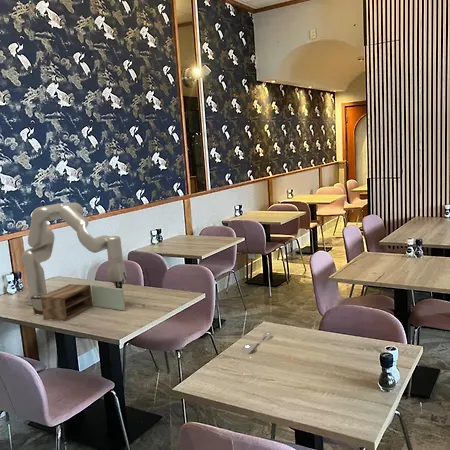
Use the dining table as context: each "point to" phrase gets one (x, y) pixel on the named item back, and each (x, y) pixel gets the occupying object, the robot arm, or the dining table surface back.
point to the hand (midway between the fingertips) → (119, 292)
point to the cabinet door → (108, 297)
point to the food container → (37, 303)
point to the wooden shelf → (66, 302)
